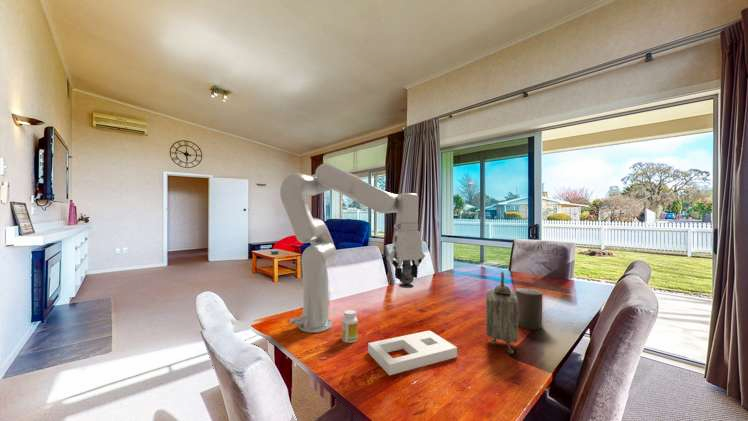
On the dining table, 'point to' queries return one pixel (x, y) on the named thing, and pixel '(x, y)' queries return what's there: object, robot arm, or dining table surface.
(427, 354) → the socket board
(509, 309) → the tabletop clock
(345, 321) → the supplement bottle
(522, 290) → the pillar candle
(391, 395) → the dining table surface
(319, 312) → the robot arm
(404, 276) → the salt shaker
